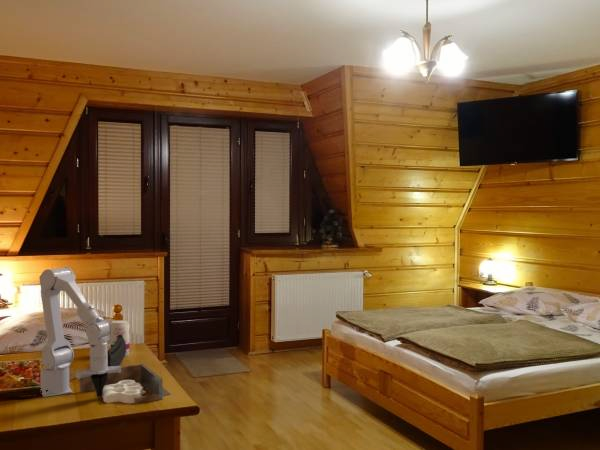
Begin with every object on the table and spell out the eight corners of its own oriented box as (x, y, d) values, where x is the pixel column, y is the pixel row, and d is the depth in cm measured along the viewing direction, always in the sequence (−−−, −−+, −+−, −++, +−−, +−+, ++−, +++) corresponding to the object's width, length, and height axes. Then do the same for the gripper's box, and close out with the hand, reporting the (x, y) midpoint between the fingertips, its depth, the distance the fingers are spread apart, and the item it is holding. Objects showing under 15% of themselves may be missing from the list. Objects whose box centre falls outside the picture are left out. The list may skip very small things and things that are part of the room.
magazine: (107, 357, 222) (124, 319, 250) (99, 357, 222) (116, 319, 250) (111, 395, 227) (126, 354, 256) (102, 395, 227) (119, 354, 255)
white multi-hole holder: (100, 392, 210) (142, 387, 216) (104, 407, 194) (149, 402, 199) (100, 382, 210) (142, 378, 216) (104, 397, 193) (149, 392, 199)
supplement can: (124, 352, 266) (124, 319, 265) (132, 355, 260) (132, 321, 259) (107, 355, 260) (106, 321, 260) (115, 358, 254) (115, 324, 254)
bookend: (159, 399, 200) (159, 379, 200) (140, 382, 220) (139, 364, 219) (173, 397, 203) (173, 377, 203) (153, 380, 222) (153, 362, 222)
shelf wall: (93, 411, 189) (93, 389, 189) (79, 391, 208) (79, 372, 208) (162, 399, 201) (162, 378, 200) (143, 382, 220) (143, 363, 220)
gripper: (78, 362, 193) (79, 402, 194) (123, 356, 201) (123, 395, 201) (74, 357, 199) (75, 396, 200) (118, 351, 207) (118, 390, 207)
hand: (99, 395), depth 201 cm, fingers closed
